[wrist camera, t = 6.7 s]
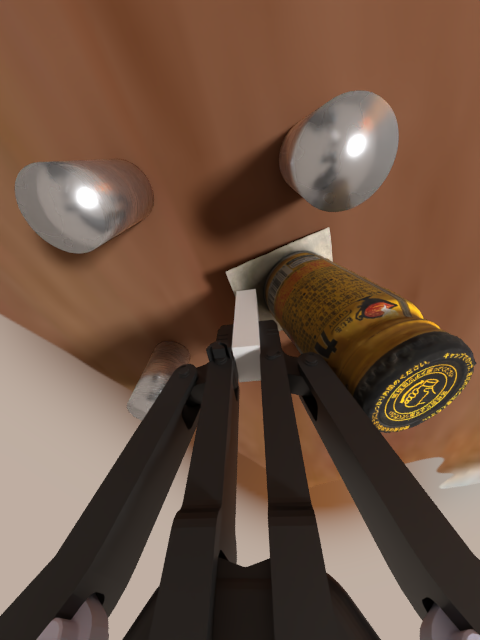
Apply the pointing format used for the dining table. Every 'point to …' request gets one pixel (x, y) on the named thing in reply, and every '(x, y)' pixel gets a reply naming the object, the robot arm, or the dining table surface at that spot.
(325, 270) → the condiment
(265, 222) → the dining table surface
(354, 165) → the cylinder
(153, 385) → the cylinder
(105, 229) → the cylinder
